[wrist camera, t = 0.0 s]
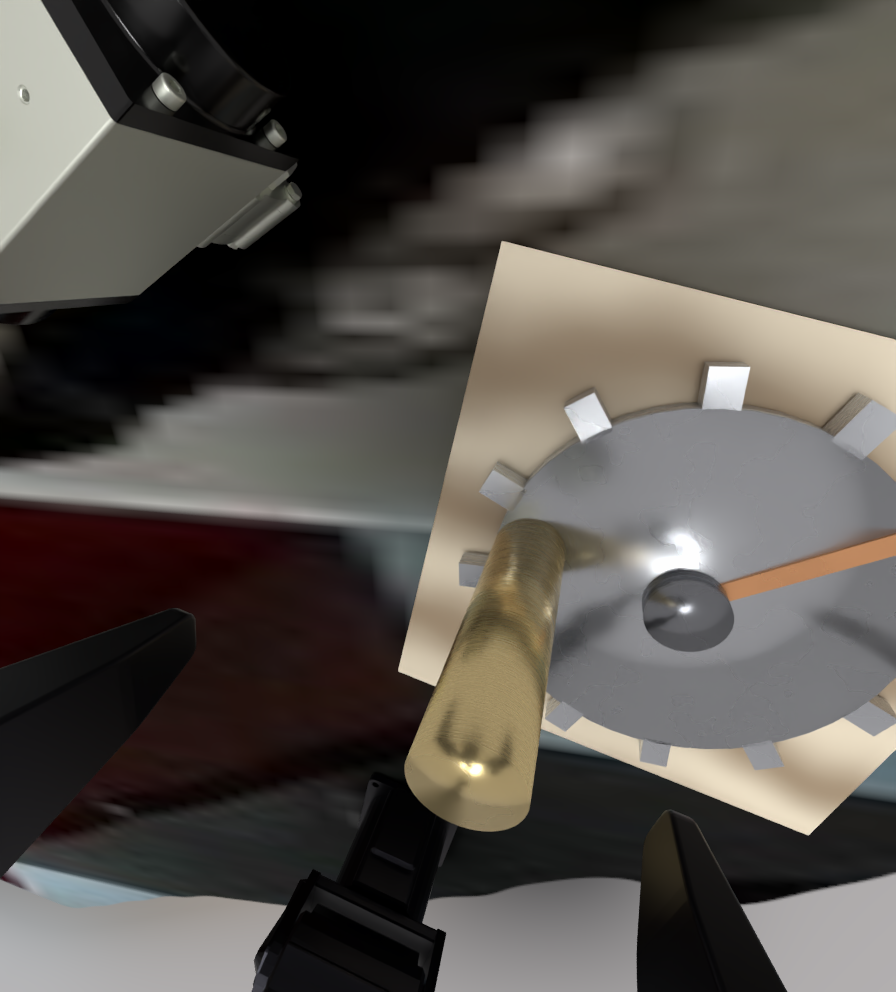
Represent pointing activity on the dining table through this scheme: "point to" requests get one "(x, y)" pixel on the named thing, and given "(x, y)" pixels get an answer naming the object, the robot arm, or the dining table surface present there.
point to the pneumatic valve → (133, 143)
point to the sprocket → (670, 594)
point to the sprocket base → (625, 389)
